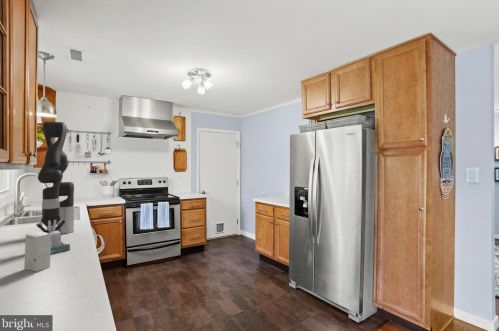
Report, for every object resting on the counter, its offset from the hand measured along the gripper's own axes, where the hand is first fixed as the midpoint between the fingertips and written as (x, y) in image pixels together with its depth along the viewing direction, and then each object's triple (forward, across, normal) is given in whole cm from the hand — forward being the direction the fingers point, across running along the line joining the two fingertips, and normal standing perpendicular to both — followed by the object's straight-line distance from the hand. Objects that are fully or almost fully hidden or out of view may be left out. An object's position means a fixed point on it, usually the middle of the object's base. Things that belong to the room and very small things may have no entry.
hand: (51, 239), depth 142 cm
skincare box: (+5, -13, -29) cm, 33 cm away
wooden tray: (+4, 0, 0) cm, 5 cm away
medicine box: (+4, 0, -6) cm, 7 cm away
